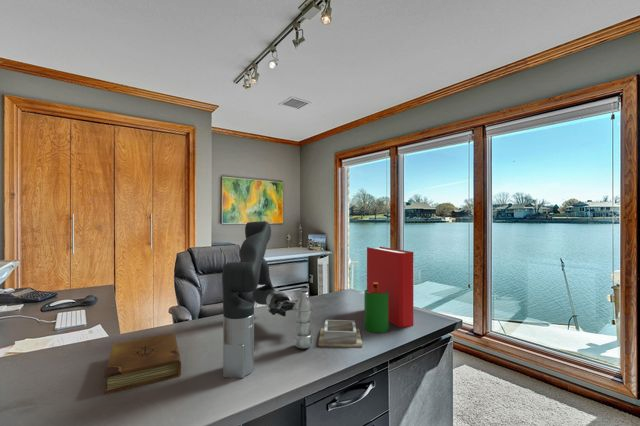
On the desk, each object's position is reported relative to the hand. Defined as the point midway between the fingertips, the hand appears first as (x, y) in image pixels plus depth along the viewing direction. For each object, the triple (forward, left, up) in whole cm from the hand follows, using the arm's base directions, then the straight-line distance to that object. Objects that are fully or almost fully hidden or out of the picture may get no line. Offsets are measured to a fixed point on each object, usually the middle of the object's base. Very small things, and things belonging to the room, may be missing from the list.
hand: (295, 312), depth 116 cm
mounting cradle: (+4, -17, -11) cm, 21 cm away
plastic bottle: (-5, -4, -11) cm, 13 cm away
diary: (-23, +44, -12) cm, 51 cm away
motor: (+15, -33, -11) cm, 38 cm away
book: (+31, -41, -11) cm, 52 cm away
